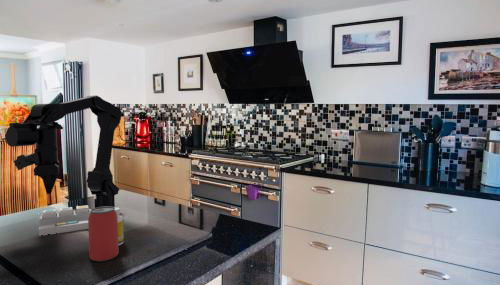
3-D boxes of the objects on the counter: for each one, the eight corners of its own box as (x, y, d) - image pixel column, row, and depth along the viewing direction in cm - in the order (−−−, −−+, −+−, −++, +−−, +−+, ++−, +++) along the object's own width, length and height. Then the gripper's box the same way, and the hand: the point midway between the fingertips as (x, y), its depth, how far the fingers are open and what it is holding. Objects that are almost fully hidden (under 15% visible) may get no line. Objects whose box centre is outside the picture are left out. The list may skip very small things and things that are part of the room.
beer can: (95, 252, 85) (93, 206, 84) (122, 251, 85) (120, 205, 85) (85, 263, 78) (83, 213, 77) (113, 261, 79) (112, 212, 78)
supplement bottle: (128, 241, 92) (126, 207, 91) (114, 249, 87) (112, 212, 86) (112, 239, 94) (111, 205, 93) (97, 246, 88) (96, 210, 88)
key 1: (56, 215, 106) (55, 208, 106) (56, 217, 103) (55, 211, 103) (43, 216, 105) (43, 210, 105) (43, 219, 102) (42, 212, 102)
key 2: (87, 211, 111) (87, 205, 111) (88, 213, 108) (88, 207, 108) (76, 212, 109) (76, 206, 109) (76, 214, 106) (76, 208, 106)
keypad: (90, 216, 116) (89, 206, 116) (93, 228, 104) (92, 215, 104) (41, 223, 109) (41, 211, 109) (39, 236, 97) (38, 223, 97)
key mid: (72, 212, 109) (72, 206, 109) (72, 215, 106) (72, 209, 106) (60, 214, 107) (60, 208, 107) (60, 217, 104) (60, 210, 104)
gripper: (18, 143, 107) (21, 191, 108) (10, 147, 91) (13, 203, 92) (58, 142, 112) (60, 187, 113) (57, 145, 96) (60, 198, 97)
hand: (48, 193), depth 104 cm, fingers closed
